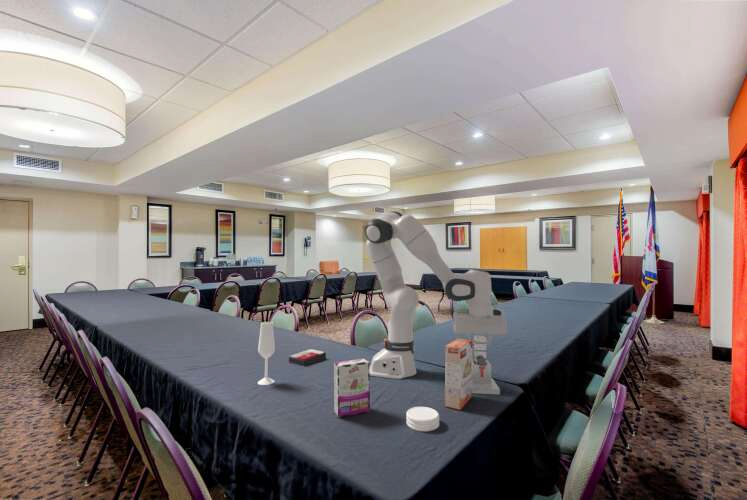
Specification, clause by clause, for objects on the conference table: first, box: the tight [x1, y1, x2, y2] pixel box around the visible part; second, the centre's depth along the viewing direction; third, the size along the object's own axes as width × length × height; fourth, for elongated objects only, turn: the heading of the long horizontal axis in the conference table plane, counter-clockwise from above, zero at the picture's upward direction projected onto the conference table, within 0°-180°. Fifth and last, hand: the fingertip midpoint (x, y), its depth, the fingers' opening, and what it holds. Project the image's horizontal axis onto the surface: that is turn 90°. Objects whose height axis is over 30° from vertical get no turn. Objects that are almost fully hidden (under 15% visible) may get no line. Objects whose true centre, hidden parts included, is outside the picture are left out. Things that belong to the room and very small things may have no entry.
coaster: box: [405, 406, 440, 432], centre depth 105 cm, size 10×10×4 cm
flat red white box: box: [288, 348, 327, 367], centre depth 171 cm, size 11×4×15 cm
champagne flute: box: [257, 321, 276, 386], centre depth 141 cm, size 7×7×24 cm
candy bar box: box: [333, 358, 371, 418], centre depth 113 cm, size 11×5×16 cm, turn 113°
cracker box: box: [444, 338, 474, 411], centre depth 121 cm, size 14×6×21 cm, turn 148°
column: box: [473, 335, 488, 364], centre depth 135 cm, size 4×4×20 cm
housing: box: [472, 358, 501, 396], centre depth 135 cm, size 12×12×12 cm
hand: (480, 345), depth 135 cm, fingers open, 5 cm apart
